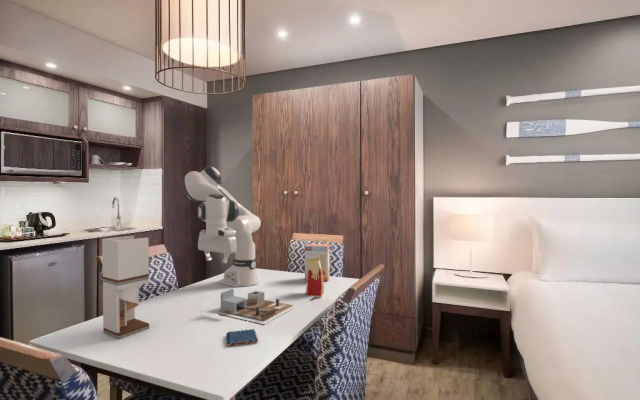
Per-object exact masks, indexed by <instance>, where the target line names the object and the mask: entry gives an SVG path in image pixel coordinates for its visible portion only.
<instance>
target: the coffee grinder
mask: <svg viewBox="0 0 640 400" xmlns="http://www.w3.org/2000/svg"><path fill="white" fill-rule="evenodd" d="M101 241H102V242H101V244H102V245H101V246H102V247H101V249H102V251H101V252H102V254H101V258H102V260H101V262H102V316H103V317H102V320H103V321H102V322H103V323H102V326H103V327H102V328H103V331H102V333H103V334H105V335H107V336H110V337H111V338H114V339H117V340H122V339H125V338H127V337H129V336H133V335H135V334H138V333H143V332H144V331H147V330H149V329H150V323H149V322H146V321H143V320H140V319H137V318H136V316H135V315H136V312H135V311H136V309H135V308H136V307H138V306H139V305H140V302H139V301H140V299H139V298H140V297H139V296H140V295H139V286H141V285H145V284H149V282H150V273H149V272H150V267H149V265H150V261H149V259H150V258H149V257H150V255H149V253H150V252H149V250H150V249H149V237H140V238H135V235H126V236H117V237H116V236H115V237H107V238H102V239H101Z"/></svg>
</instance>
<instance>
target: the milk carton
mask: <svg viewBox="0 0 640 400" xmlns="http://www.w3.org/2000/svg"><path fill="white" fill-rule="evenodd" d="M319 258H320V256H317V257H314V258H308V259H306V260H307V263H308V278H307V280H306V288H305V296H310V297H313V298H323V296H324V294H325V281H324V280H323V273H322V268H321V264H320V259H319Z"/></svg>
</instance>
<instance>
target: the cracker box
mask: <svg viewBox="0 0 640 400" xmlns="http://www.w3.org/2000/svg"><path fill="white" fill-rule="evenodd" d="M317 256H320V258H319V259H320V264H321V268H322V273H323V280H324V282H328V281H330V278H331V277H330V268H331V267H330V244H319V243H314V244H313V243H307V244H305V245H304V281H307V278H308V263H307V260H306V259H308V258H314V257H317Z"/></svg>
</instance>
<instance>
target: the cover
mask: <svg viewBox="0 0 640 400" xmlns="http://www.w3.org/2000/svg"><path fill="white" fill-rule="evenodd" d="M234 290H235V289H234V288H231V289H228V290H225V291H223V292H220V310H221V309H222V310H227V311H231V312H236V307H241V308H246V299H247V298H246V297H241V296H236V295H235V291H234Z"/></svg>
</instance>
